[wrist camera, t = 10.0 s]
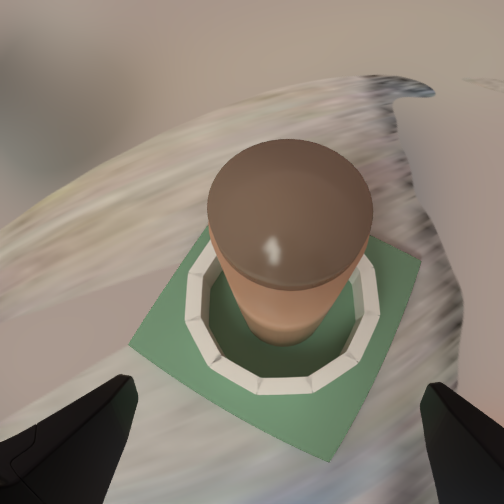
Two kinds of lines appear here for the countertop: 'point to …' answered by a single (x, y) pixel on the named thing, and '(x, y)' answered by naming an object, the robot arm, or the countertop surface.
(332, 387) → the green mat
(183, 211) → the countertop surface
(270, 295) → the jar
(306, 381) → the white faceted ring
